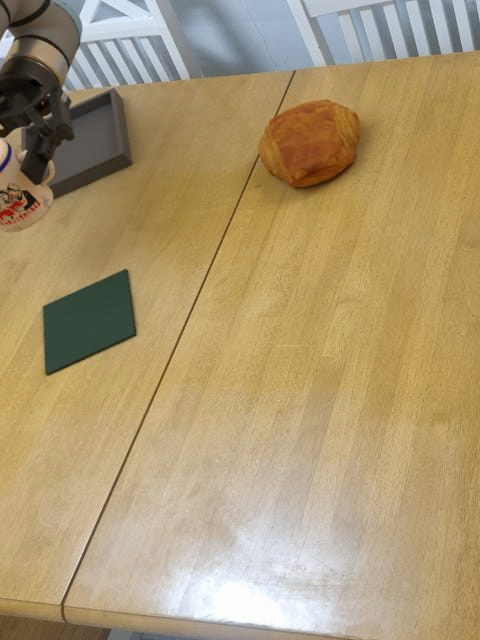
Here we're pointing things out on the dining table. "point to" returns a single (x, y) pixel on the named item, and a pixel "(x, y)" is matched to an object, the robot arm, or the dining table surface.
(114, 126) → the tray
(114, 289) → the mat
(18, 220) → the teacup with lid
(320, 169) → the croissant
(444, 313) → the dining table surface
